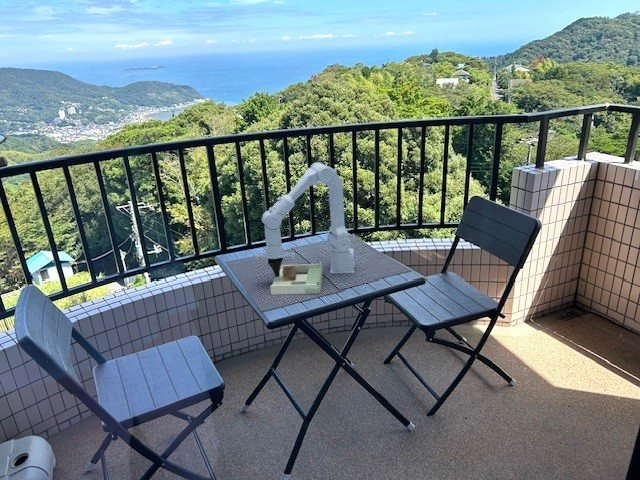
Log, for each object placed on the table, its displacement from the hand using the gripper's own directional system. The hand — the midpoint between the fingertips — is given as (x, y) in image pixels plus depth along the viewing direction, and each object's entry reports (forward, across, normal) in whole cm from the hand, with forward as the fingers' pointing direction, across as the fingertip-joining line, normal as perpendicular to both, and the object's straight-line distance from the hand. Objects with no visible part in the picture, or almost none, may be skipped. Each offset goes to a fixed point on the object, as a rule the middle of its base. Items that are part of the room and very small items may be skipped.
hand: (277, 275), depth 168 cm
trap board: (+3, -8, 0) cm, 8 cm away
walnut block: (+1, -5, 0) cm, 5 cm away
